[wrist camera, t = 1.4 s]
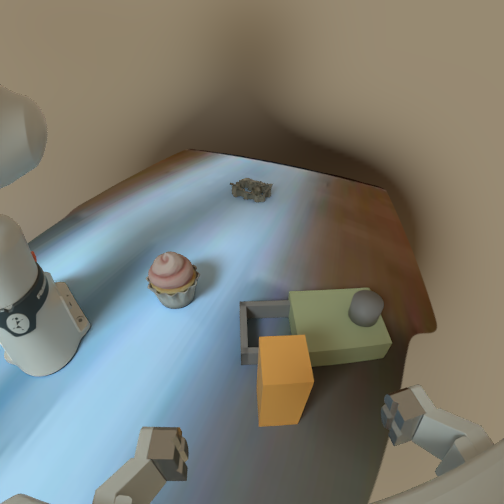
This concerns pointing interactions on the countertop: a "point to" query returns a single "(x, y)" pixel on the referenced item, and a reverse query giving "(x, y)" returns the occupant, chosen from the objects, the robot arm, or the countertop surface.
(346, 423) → the countertop surface
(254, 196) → the rocky terrain model
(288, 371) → the tall orange pillar
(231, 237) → the countertop surface
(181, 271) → the cupcake
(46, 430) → the countertop surface
